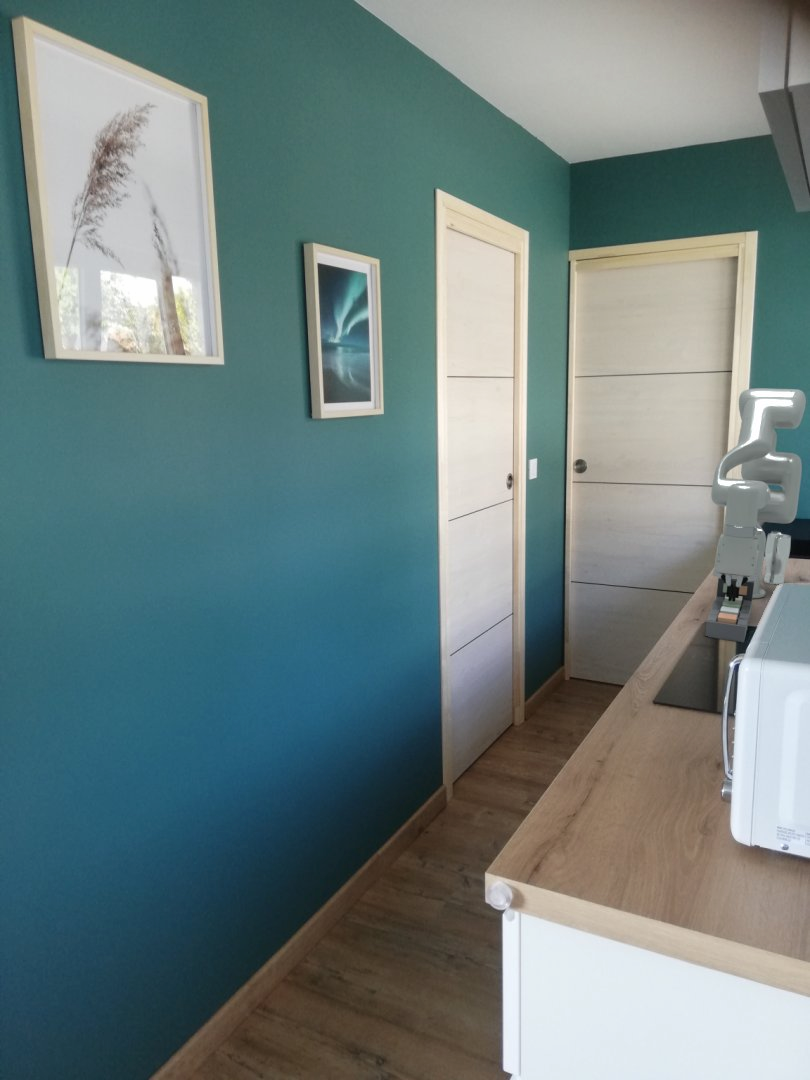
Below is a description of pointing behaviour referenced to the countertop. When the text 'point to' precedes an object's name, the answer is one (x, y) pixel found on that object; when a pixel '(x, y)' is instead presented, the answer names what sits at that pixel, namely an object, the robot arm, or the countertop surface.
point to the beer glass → (776, 557)
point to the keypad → (740, 628)
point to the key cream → (735, 599)
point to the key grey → (729, 610)
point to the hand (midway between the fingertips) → (731, 599)
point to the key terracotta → (727, 618)
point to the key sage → (731, 604)
